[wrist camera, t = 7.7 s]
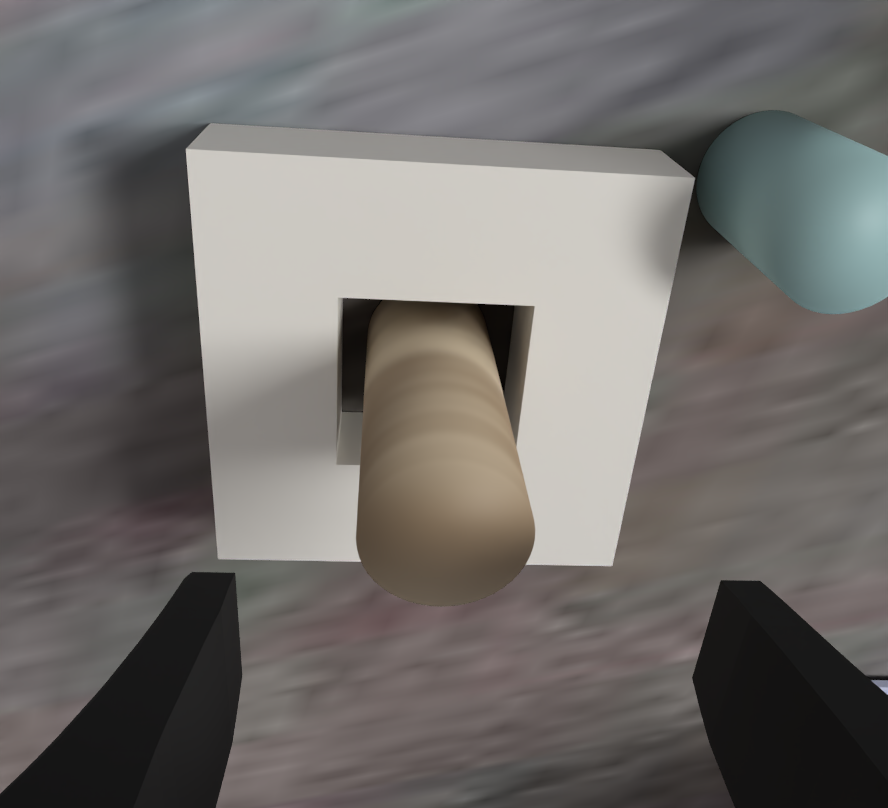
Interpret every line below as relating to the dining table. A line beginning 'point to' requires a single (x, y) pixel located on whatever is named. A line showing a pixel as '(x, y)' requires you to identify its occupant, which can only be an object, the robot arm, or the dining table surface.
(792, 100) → the dining table surface
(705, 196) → the short teal pin
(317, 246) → the collar block
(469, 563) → the long beech pin
